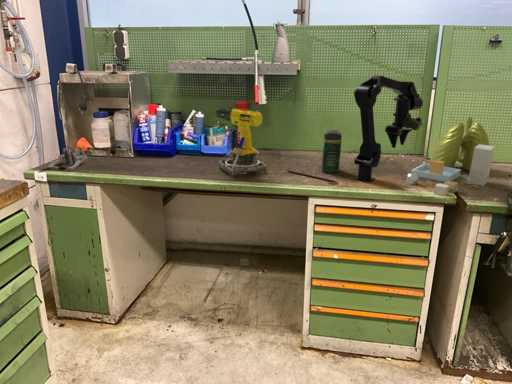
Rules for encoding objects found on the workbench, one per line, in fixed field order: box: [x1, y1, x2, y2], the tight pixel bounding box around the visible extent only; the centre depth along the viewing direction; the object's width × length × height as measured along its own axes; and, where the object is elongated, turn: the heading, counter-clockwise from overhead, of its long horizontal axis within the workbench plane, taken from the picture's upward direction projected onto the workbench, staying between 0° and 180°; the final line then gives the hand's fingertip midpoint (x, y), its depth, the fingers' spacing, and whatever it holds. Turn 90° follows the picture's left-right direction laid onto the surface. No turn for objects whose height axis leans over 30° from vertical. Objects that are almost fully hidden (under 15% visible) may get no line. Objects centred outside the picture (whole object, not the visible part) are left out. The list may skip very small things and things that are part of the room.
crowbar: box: [286, 169, 339, 186], centre depth 181 cm, size 28×1×5 cm
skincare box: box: [467, 144, 496, 187], centre depth 174 cm, size 8×7×16 cm
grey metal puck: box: [406, 172, 420, 186], centre depth 174 cm, size 4×4×4 cm
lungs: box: [429, 116, 491, 171], centre depth 194 cm, size 25×16×24 cm, turn 79°
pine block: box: [443, 181, 459, 194], centre depth 165 cm, size 4×4×4 cm
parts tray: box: [410, 162, 462, 184], centre depth 185 cm, size 16×16×3 cm
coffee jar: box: [321, 129, 343, 174], centre depth 189 cm, size 10×8×19 cm
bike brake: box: [38, 147, 88, 173], centre depth 191 cm, size 14×7×20 cm
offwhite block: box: [433, 182, 449, 197], centre depth 161 cm, size 4×4×4 cm
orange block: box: [429, 160, 445, 175], centre depth 184 cm, size 4×4×6 cm
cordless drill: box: [213, 106, 268, 177], centre depth 188 cm, size 18×19×28 cm
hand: (398, 146), depth 187 cm, fingers open, 9 cm apart
